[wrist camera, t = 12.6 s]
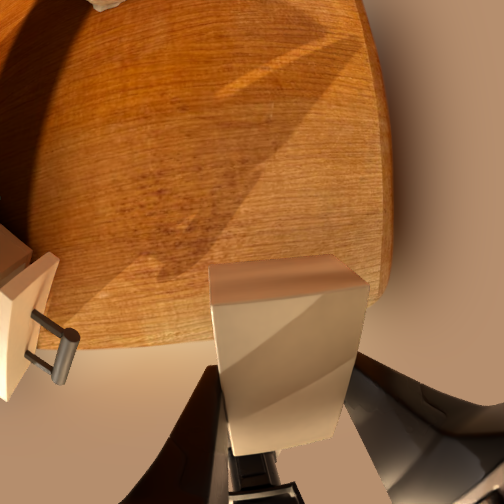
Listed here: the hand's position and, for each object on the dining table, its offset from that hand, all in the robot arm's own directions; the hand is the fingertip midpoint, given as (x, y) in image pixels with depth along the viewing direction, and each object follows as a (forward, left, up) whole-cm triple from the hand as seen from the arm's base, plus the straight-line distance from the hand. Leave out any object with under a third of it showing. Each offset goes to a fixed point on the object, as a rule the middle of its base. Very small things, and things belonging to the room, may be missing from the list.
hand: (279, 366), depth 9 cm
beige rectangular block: (0, 0, -1) cm, 1 cm away
